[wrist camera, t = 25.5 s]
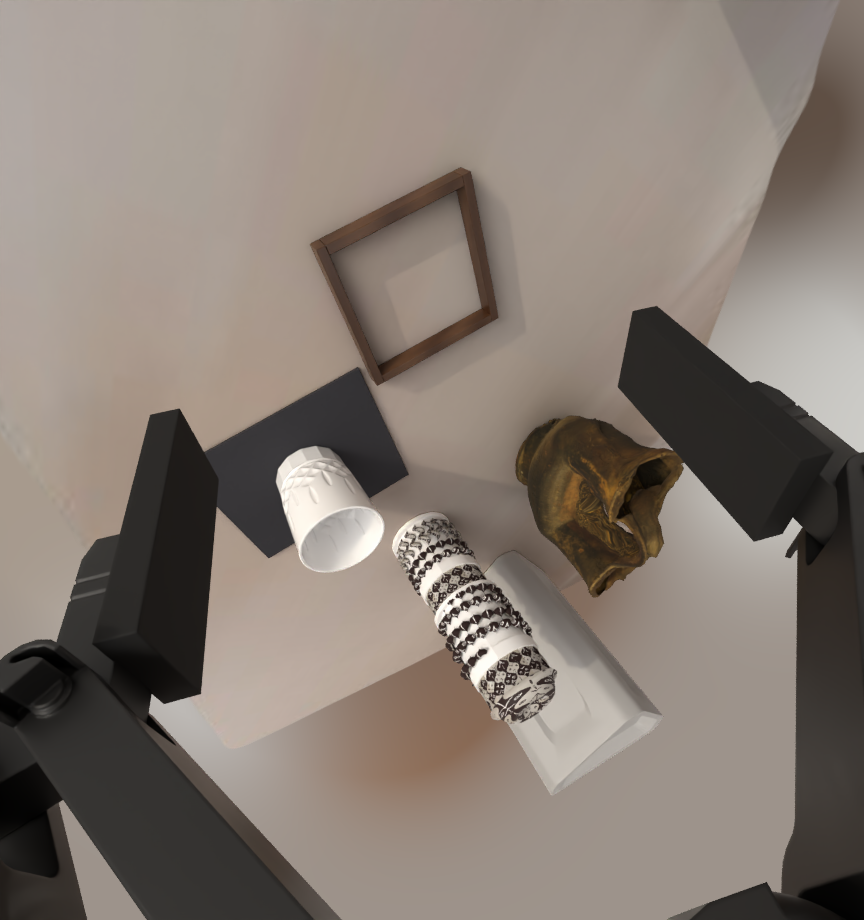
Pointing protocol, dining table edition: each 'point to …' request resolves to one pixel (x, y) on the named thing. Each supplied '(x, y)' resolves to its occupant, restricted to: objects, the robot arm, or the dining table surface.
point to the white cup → (327, 510)
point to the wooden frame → (386, 216)
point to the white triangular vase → (571, 682)
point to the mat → (293, 428)
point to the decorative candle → (475, 619)
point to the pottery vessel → (597, 495)
